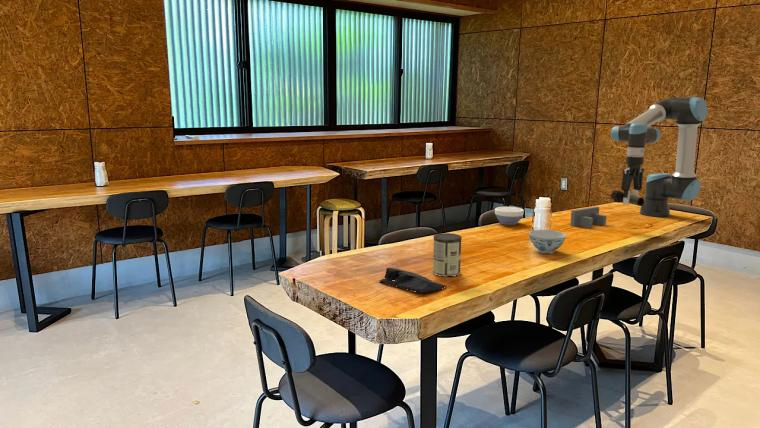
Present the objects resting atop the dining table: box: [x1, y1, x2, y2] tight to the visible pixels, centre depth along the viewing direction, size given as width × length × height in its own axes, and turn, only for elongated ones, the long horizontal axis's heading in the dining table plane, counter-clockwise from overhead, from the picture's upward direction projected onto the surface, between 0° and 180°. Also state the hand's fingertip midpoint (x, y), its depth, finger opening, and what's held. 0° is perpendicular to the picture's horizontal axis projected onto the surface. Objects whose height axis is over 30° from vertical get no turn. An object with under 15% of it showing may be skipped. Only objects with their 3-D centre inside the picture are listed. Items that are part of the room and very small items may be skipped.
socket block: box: [570, 206, 607, 229], centre depth 283 cm, size 20×9×8 cm, turn 123°
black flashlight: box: [610, 189, 645, 207], centre depth 270 cm, size 18×7×6 cm, turn 24°
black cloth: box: [379, 267, 447, 294], centre depth 192 cm, size 15×22×5 cm
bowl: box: [494, 206, 525, 226], centre depth 285 cm, size 14×14×8 cm
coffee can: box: [432, 232, 463, 277], centre depth 204 cm, size 10×10×14 cm
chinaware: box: [528, 229, 567, 254], centre depth 234 cm, size 15×15×8 cm
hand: (629, 203), depth 268 cm, fingers closed on black flashlight, 6 cm apart
